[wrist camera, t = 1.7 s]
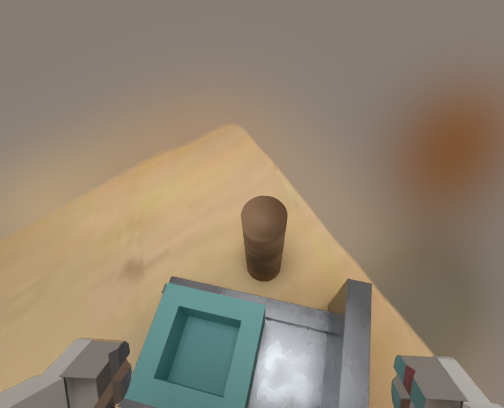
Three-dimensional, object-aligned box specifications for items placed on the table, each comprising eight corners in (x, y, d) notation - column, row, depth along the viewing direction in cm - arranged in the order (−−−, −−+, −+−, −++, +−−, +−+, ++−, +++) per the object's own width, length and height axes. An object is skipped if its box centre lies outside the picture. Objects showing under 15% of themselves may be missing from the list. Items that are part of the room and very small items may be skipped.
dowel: (243, 277, 36) (236, 230, 26) (251, 246, 38) (247, 192, 28) (277, 284, 35) (283, 240, 25) (283, 253, 37) (290, 200, 27)
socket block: (152, 397, 29) (123, 397, 23) (184, 302, 33) (167, 282, 28) (244, 423, 28) (239, 431, 22) (265, 321, 32) (265, 305, 26)
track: (116, 433, 28) (62, 447, 21) (176, 271, 37) (154, 238, 29) (334, 501, 25) (364, 547, 18) (347, 308, 34) (371, 283, 26)
